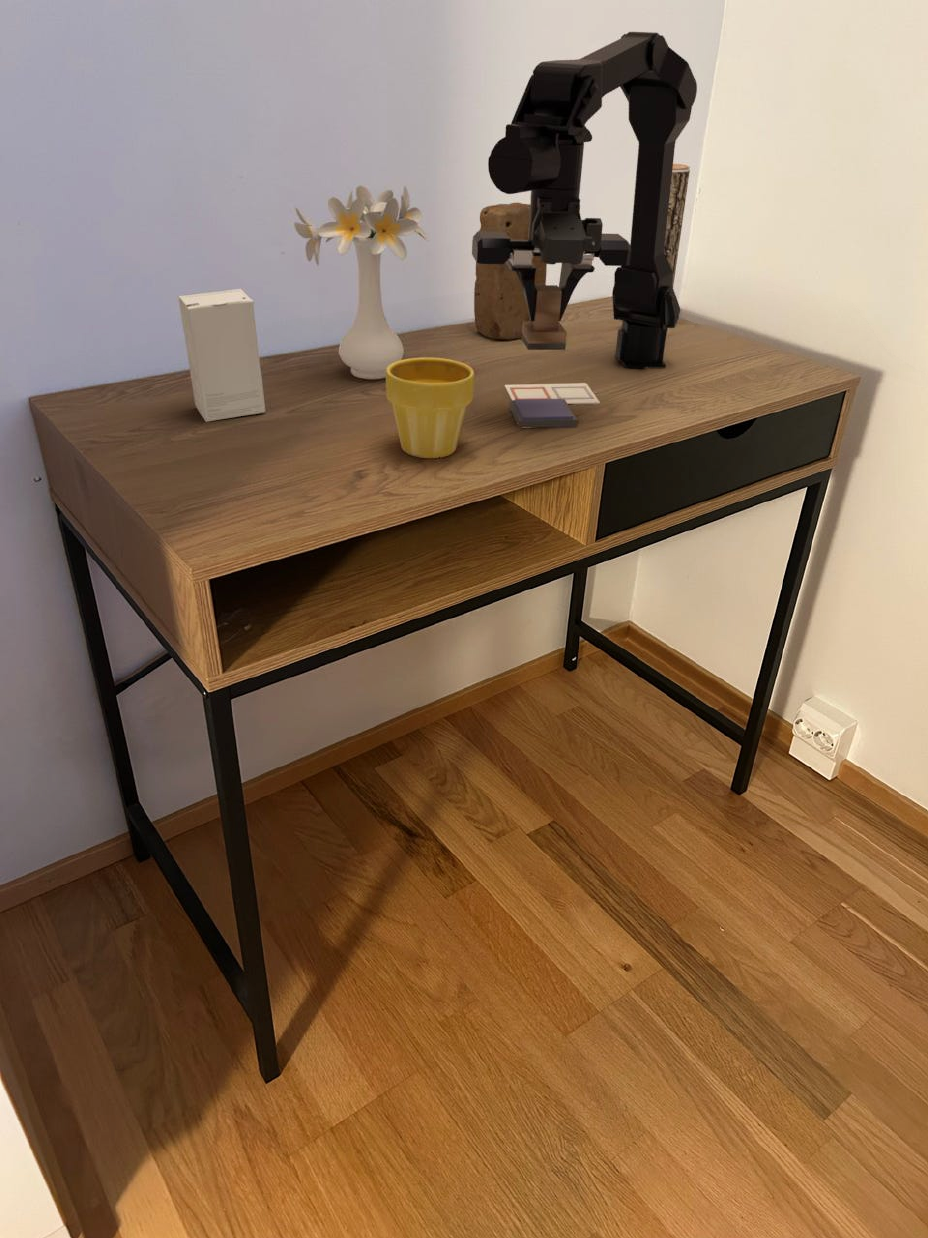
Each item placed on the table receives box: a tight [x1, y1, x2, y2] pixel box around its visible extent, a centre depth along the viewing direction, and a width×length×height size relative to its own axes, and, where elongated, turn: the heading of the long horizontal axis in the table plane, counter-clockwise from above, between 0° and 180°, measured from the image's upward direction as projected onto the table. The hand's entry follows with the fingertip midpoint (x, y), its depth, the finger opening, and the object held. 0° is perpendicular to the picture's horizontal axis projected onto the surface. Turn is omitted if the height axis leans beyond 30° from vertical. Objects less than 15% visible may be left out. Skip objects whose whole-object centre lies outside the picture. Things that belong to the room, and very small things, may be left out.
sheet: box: [504, 382, 601, 405], centre depth 133 cm, size 12×8×1 cm, turn 97°
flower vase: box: [293, 184, 429, 380], centre depth 131 cm, size 13×18×25 cm
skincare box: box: [178, 288, 266, 423], centre depth 120 cm, size 8×6×15 cm
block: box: [473, 202, 548, 341], centre depth 152 cm, size 11×8×20 cm
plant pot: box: [385, 357, 475, 459], centre depth 113 cm, size 10×10×10 cm
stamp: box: [521, 284, 568, 351], centre depth 119 cm, size 5×5×7 cm
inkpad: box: [508, 399, 578, 429], centre depth 125 cm, size 8×8×1 cm
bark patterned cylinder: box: [664, 162, 691, 289], centre depth 159 cm, size 7×7×25 cm
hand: (545, 320), depth 120 cm, fingers closed on stamp, 3 cm apart
